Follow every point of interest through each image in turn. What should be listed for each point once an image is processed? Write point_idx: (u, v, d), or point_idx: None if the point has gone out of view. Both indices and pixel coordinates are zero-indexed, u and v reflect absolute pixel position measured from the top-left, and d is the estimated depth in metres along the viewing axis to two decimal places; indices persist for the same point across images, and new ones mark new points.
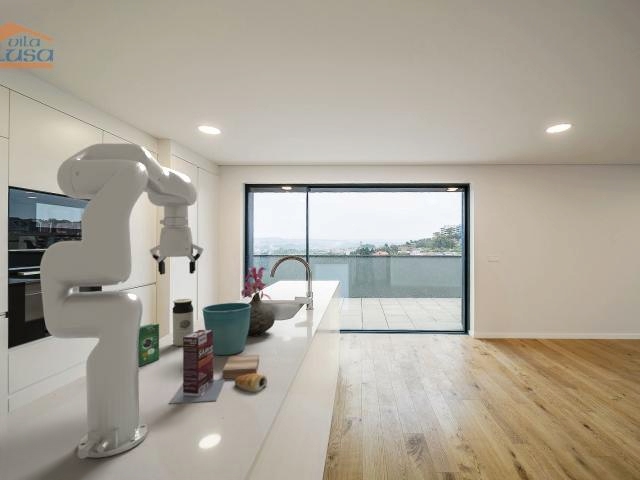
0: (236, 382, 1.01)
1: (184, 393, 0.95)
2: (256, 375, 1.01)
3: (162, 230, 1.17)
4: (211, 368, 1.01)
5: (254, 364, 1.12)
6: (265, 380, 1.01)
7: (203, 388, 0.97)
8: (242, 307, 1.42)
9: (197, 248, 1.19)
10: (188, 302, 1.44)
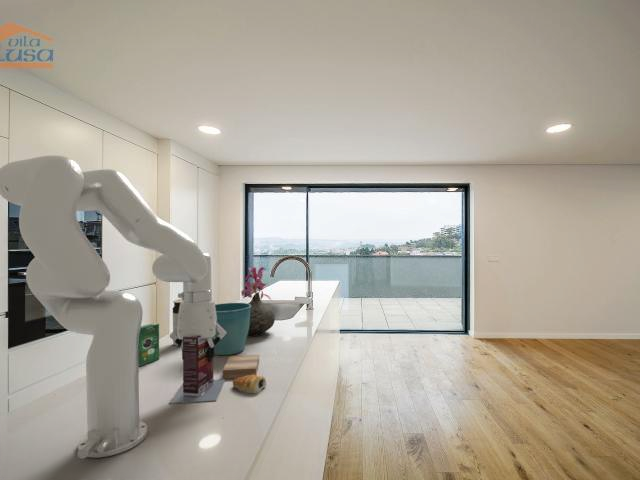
0: (234, 384, 0.99)
1: (184, 393, 0.95)
2: (255, 376, 1.00)
3: (181, 307, 0.96)
4: (211, 368, 1.01)
5: (254, 364, 1.12)
6: (264, 381, 1.00)
7: (203, 388, 0.97)
8: (242, 307, 1.42)
9: (220, 331, 0.99)
10: None
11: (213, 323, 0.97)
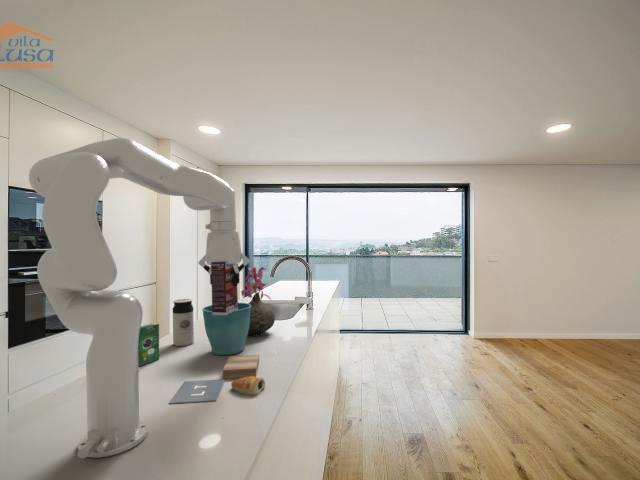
0: (233, 386, 0.98)
1: (213, 313, 1.05)
2: (254, 378, 0.99)
3: (209, 236, 1.05)
4: (236, 293, 1.11)
5: (254, 364, 1.12)
6: (263, 382, 1.00)
7: (230, 309, 1.07)
8: (242, 307, 1.42)
9: (244, 258, 1.08)
10: (188, 302, 1.44)
11: (238, 250, 1.06)
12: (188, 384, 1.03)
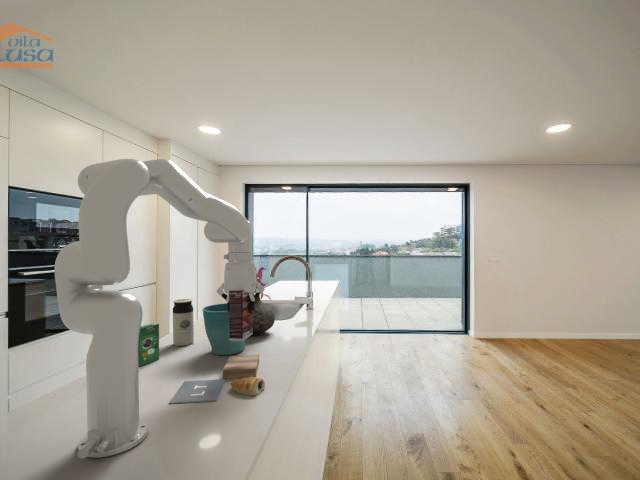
0: (233, 387, 0.98)
1: (230, 339, 1.11)
2: (254, 378, 0.99)
3: (227, 266, 1.12)
4: (251, 319, 1.17)
5: (254, 364, 1.12)
6: (263, 383, 0.99)
7: (246, 335, 1.13)
8: None
9: (259, 287, 1.15)
10: (188, 302, 1.44)
11: (254, 280, 1.13)
12: (188, 384, 1.03)
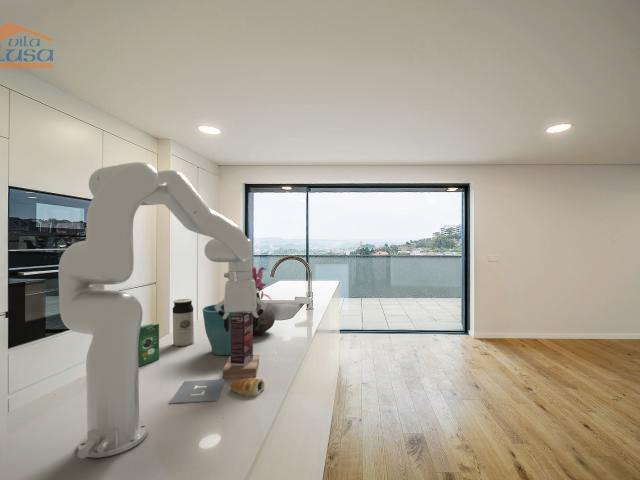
0: (232, 387, 0.97)
1: (231, 364, 1.10)
2: (253, 379, 0.98)
3: (227, 285, 1.12)
4: (252, 343, 1.17)
5: (254, 364, 1.12)
6: (262, 384, 0.99)
7: (247, 360, 1.13)
8: None
9: (261, 303, 1.15)
10: (188, 302, 1.44)
11: (254, 298, 1.12)
12: (188, 384, 1.03)
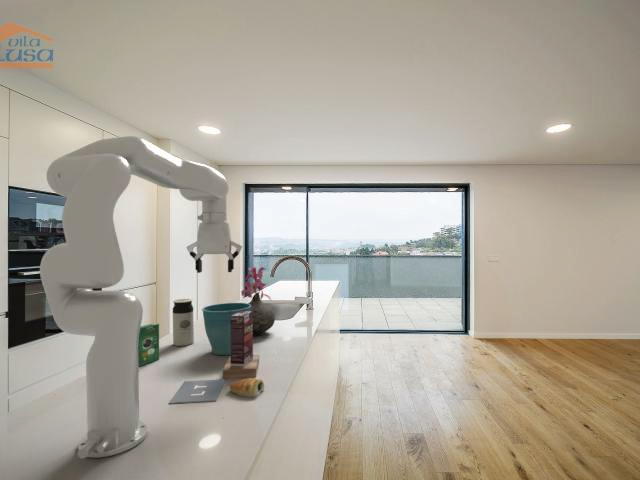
0: (232, 388, 0.96)
1: (231, 364, 1.10)
2: (253, 380, 0.98)
3: (200, 226, 1.10)
4: (252, 343, 1.17)
5: (254, 364, 1.12)
6: (262, 384, 0.98)
7: (247, 360, 1.13)
8: (242, 307, 1.42)
9: (236, 245, 1.13)
10: (188, 302, 1.44)
11: (227, 240, 1.11)
12: (188, 384, 1.03)
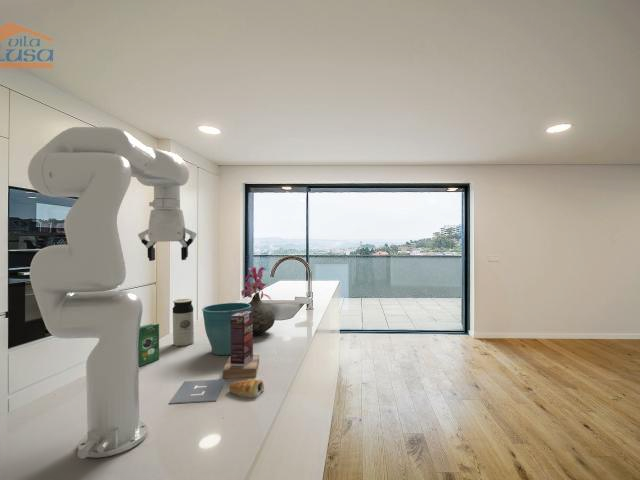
0: (232, 389, 0.96)
1: (231, 364, 1.10)
2: (253, 380, 0.97)
3: (151, 213, 1.08)
4: (252, 343, 1.17)
5: (254, 364, 1.12)
6: (262, 385, 0.98)
7: (247, 360, 1.13)
8: (242, 307, 1.42)
9: (190, 232, 1.10)
10: (188, 302, 1.44)
11: (180, 227, 1.08)
12: (188, 384, 1.03)
